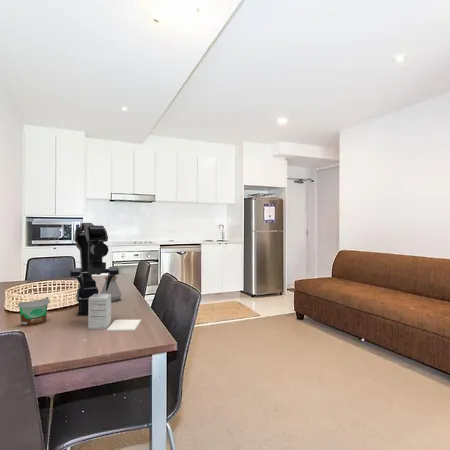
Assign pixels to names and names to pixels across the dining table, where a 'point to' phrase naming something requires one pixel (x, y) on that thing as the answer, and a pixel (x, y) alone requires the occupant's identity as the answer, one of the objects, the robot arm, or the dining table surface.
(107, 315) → the supplement box
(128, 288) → the dining table surface
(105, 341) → the dining table surface
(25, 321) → the food container
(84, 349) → the dining table surface
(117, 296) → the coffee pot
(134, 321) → the white flat slab
